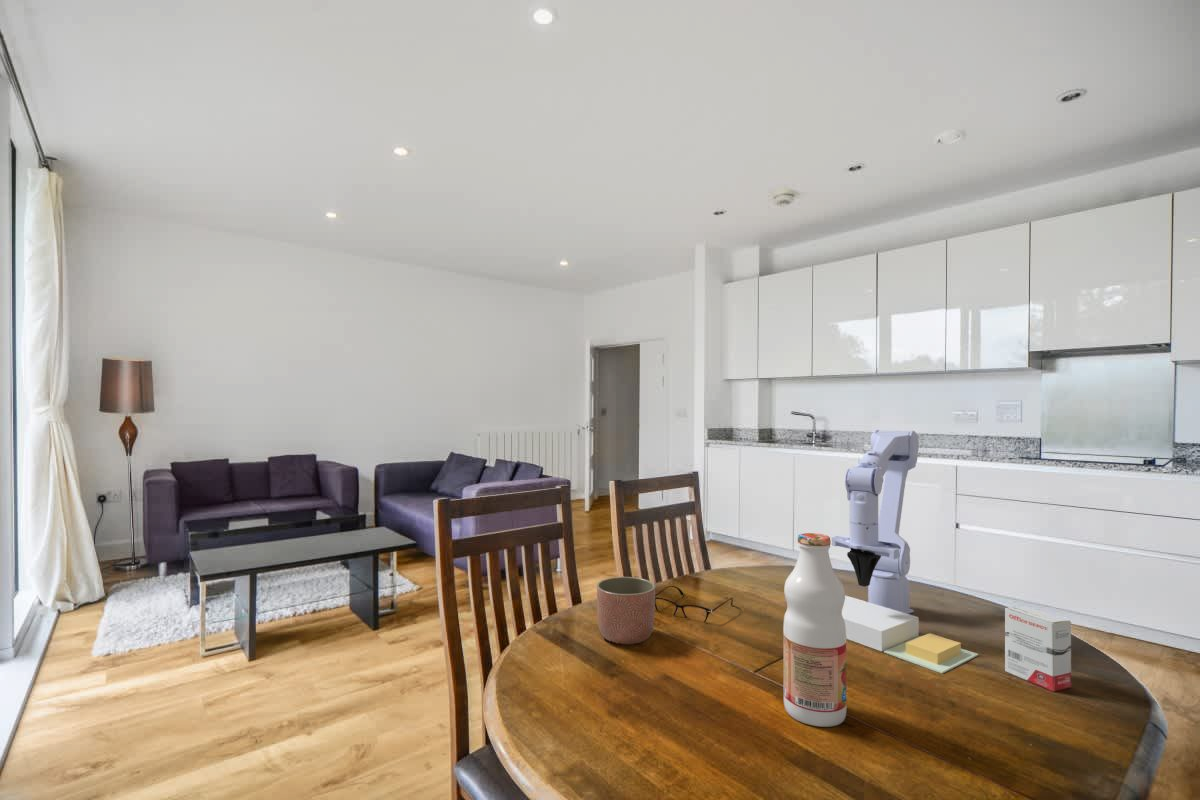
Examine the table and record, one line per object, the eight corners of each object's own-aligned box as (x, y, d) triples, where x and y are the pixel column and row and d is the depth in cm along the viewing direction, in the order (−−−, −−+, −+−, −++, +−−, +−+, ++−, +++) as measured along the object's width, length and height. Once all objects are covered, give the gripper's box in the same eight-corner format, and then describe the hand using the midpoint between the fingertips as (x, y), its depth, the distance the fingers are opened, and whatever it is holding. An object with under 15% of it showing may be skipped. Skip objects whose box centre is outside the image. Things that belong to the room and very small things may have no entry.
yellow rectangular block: (960, 643, 114) (960, 653, 114) (929, 633, 119) (929, 642, 119) (937, 653, 109) (937, 664, 109) (905, 643, 114) (905, 653, 114)
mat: (921, 636, 123) (921, 635, 123) (978, 655, 113) (978, 653, 113) (884, 652, 115) (884, 650, 115) (942, 673, 106) (942, 672, 106)
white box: (827, 606, 141) (827, 589, 141) (918, 636, 123) (918, 617, 123) (789, 617, 134) (789, 600, 134) (881, 651, 115) (881, 631, 115)
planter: (587, 643, 119) (587, 590, 119) (609, 622, 130) (609, 574, 131) (645, 653, 114) (645, 597, 114) (662, 630, 126) (662, 580, 126)
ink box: (1072, 687, 100) (1072, 619, 101) (1053, 692, 99) (1053, 622, 99) (1022, 667, 109) (1021, 603, 109) (1003, 671, 107) (1003, 606, 107)
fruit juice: (772, 701, 96) (772, 531, 96) (823, 694, 98) (822, 528, 98) (804, 732, 87) (804, 544, 87) (860, 724, 89) (859, 541, 89)
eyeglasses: (647, 612, 138) (647, 595, 138) (678, 595, 151) (678, 579, 151) (712, 627, 129) (712, 609, 129) (738, 607, 142) (738, 591, 142)
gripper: (823, 519, 130) (823, 579, 130) (885, 530, 118) (886, 597, 118) (842, 515, 134) (842, 574, 134) (904, 526, 122) (904, 591, 122)
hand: (864, 585), depth 126 cm, fingers closed
